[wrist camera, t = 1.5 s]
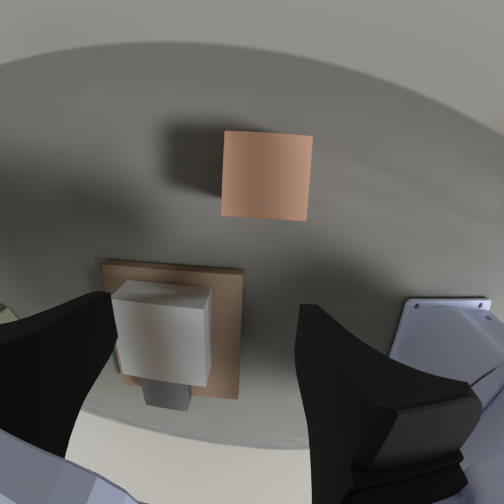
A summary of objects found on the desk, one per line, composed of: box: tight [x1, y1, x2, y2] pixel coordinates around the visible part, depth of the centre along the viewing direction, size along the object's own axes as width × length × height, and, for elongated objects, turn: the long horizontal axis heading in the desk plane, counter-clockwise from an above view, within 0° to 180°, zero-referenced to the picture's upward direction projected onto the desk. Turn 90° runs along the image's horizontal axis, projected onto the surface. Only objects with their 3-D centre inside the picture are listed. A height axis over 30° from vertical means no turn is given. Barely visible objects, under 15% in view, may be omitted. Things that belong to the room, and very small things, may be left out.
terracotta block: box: [221, 131, 313, 221], centre depth 16 cm, size 4×4×5 cm
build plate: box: [102, 260, 244, 411], centre depth 20 cm, size 10×11×4 cm
